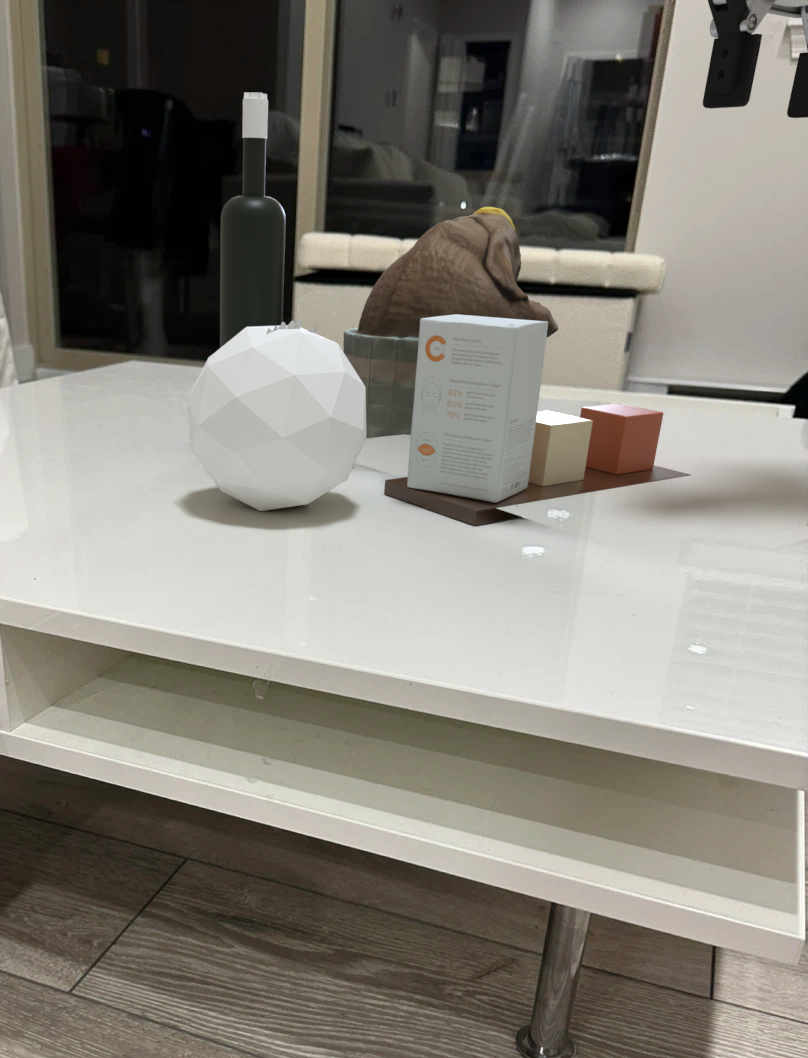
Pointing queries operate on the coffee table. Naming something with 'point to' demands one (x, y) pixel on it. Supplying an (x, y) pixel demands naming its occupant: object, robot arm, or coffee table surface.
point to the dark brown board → (519, 494)
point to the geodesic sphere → (277, 416)
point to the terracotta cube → (622, 438)
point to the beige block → (559, 448)
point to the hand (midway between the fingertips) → (767, 112)
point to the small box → (475, 405)
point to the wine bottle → (252, 237)
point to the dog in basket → (434, 307)
